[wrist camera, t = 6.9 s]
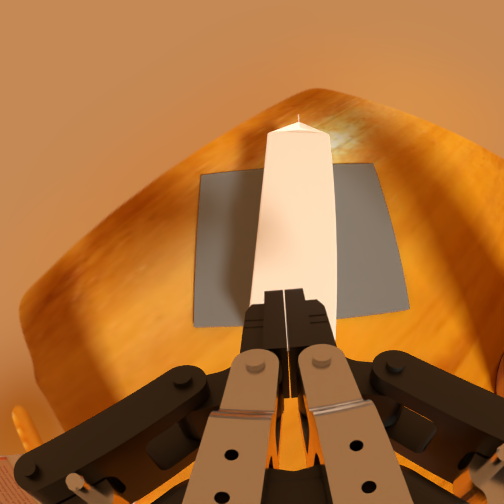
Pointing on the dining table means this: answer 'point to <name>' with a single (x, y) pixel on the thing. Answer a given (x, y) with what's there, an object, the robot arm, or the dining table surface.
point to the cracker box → (12, 483)
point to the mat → (245, 235)
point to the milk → (297, 219)
